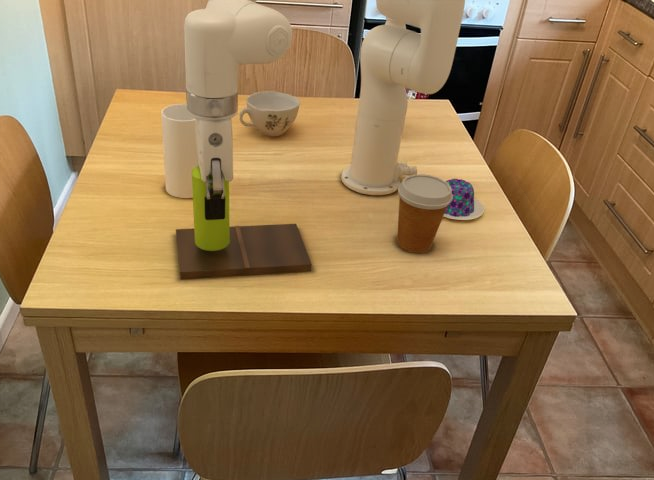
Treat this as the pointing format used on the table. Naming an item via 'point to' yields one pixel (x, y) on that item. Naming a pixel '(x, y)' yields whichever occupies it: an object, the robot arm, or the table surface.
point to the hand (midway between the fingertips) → (212, 207)
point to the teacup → (271, 112)
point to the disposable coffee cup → (421, 211)
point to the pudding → (463, 201)
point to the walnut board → (245, 252)
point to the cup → (179, 150)
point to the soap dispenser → (209, 231)
